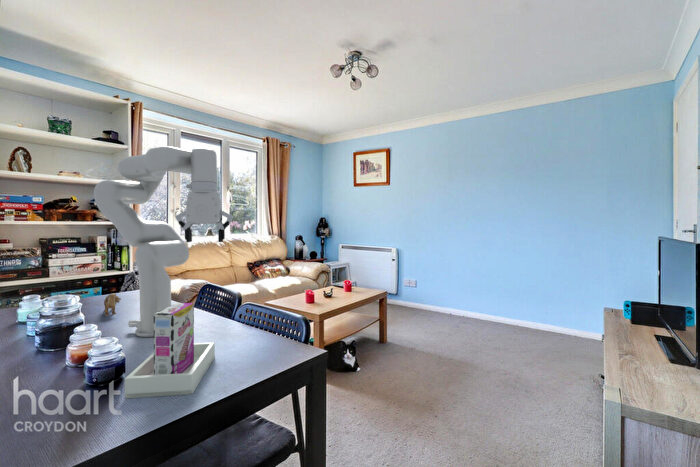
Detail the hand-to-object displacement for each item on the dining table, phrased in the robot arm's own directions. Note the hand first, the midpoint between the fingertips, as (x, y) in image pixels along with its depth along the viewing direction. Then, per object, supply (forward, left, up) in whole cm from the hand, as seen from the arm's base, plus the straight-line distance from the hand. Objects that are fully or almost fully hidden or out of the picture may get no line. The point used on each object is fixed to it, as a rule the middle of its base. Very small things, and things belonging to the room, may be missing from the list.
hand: (205, 241), depth 107 cm
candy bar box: (-1, -24, -32) cm, 40 cm away
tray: (-1, -24, -32) cm, 40 cm away
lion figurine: (-48, +39, -33) cm, 70 cm away
